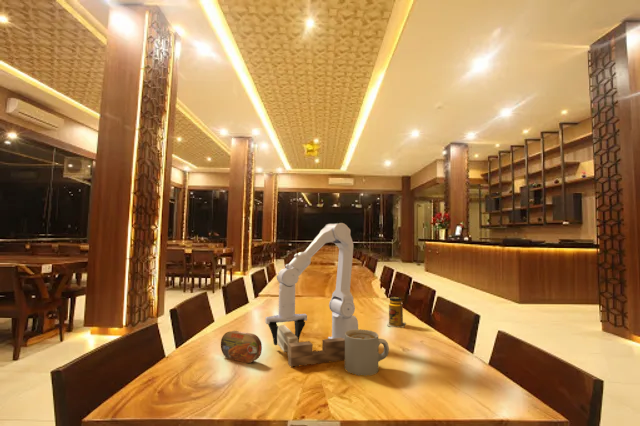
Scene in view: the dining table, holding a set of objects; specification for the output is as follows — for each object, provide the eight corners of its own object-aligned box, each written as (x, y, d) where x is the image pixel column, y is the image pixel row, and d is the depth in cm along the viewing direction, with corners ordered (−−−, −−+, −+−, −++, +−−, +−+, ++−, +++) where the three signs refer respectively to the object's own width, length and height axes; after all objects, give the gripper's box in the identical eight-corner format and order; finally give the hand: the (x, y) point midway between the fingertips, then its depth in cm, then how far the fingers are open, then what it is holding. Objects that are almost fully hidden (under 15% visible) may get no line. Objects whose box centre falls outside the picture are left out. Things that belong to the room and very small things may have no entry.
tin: (219, 356, 104) (220, 329, 105) (226, 353, 107) (227, 327, 108) (256, 366, 97) (257, 337, 98) (263, 362, 100) (263, 334, 101)
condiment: (386, 326, 142) (386, 298, 143) (389, 321, 150) (389, 295, 151) (403, 328, 140) (403, 299, 141) (405, 323, 148) (405, 296, 149)
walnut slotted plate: (341, 356, 106) (341, 337, 106) (345, 359, 103) (345, 340, 103) (288, 363, 99) (288, 343, 100) (291, 367, 96) (291, 346, 97)
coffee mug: (346, 375, 91) (346, 339, 92) (343, 361, 101) (343, 329, 102) (393, 376, 91) (393, 339, 92) (386, 362, 101) (386, 329, 102)
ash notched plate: (284, 341, 120) (284, 325, 120) (297, 356, 105) (298, 337, 105) (276, 342, 119) (276, 325, 119) (288, 357, 104) (289, 338, 104)
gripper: (269, 306, 107) (268, 349, 106) (310, 304, 112) (309, 344, 111) (264, 302, 113) (263, 342, 112) (303, 300, 119) (303, 338, 118)
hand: (286, 343), depth 112 cm, fingers open, 7 cm apart
